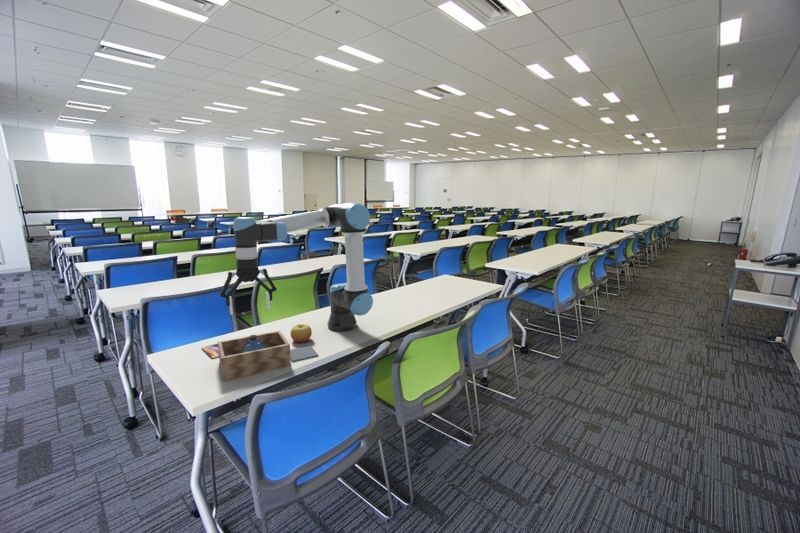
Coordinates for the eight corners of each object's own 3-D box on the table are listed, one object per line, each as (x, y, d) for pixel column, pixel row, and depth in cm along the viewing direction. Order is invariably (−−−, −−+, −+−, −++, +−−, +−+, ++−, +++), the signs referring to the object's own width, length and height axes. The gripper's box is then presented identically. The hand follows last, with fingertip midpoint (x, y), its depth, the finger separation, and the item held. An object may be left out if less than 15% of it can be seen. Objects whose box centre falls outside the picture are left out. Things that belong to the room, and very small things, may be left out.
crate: (281, 349, 153) (279, 330, 151) (290, 365, 138) (289, 344, 136) (219, 362, 140) (217, 341, 138) (223, 381, 126) (221, 358, 124)
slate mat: (310, 346, 156) (310, 345, 156) (318, 356, 147) (318, 354, 147) (285, 352, 150) (285, 350, 150) (292, 362, 141) (292, 360, 141)
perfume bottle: (266, 361, 141) (264, 334, 139) (256, 368, 135) (254, 340, 133) (253, 359, 143) (251, 332, 141) (243, 366, 137) (241, 338, 135)
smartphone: (211, 358, 143) (200, 347, 153) (211, 360, 143) (200, 349, 153) (230, 353, 148) (218, 342, 158) (230, 354, 148) (218, 344, 158)
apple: (286, 340, 163) (285, 324, 161) (304, 334, 170) (304, 319, 168) (297, 346, 156) (297, 329, 155) (316, 340, 163) (315, 324, 162)
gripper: (278, 254, 141) (280, 304, 144) (209, 258, 128) (214, 313, 132) (282, 257, 134) (285, 308, 138) (210, 261, 121) (215, 318, 125)
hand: (250, 311), depth 135 cm, fingers open, 13 cm apart
